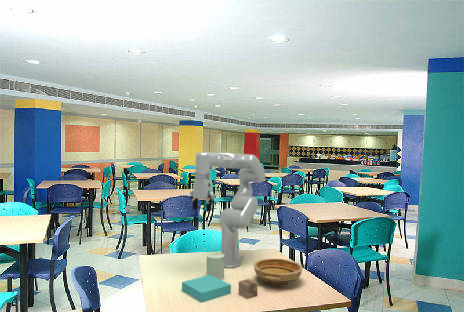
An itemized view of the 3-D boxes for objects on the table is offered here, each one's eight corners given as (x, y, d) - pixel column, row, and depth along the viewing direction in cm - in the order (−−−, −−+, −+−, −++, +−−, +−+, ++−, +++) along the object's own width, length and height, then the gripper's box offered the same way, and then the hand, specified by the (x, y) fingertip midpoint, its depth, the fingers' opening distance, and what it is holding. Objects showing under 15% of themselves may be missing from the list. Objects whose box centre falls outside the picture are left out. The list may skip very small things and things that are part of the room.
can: (226, 276, 187) (227, 253, 186) (220, 282, 178) (220, 258, 178) (210, 273, 190) (210, 251, 189) (203, 279, 181) (203, 255, 181)
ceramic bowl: (261, 269, 198) (261, 254, 198) (306, 275, 190) (306, 260, 190) (245, 288, 170) (245, 271, 170) (297, 296, 162) (297, 279, 162)
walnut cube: (248, 291, 167) (248, 278, 167) (257, 295, 163) (257, 282, 163) (238, 294, 163) (238, 281, 163) (247, 299, 159) (247, 285, 159)
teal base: (210, 282, 177) (210, 274, 177) (230, 293, 165) (231, 284, 164) (181, 290, 167) (182, 281, 167) (201, 302, 154) (201, 293, 154)
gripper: (220, 177, 182) (219, 211, 182) (196, 175, 193) (195, 207, 193) (209, 178, 176) (208, 213, 176) (185, 175, 188) (184, 208, 188)
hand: (201, 210), depth 185 cm, fingers open, 9 cm apart
